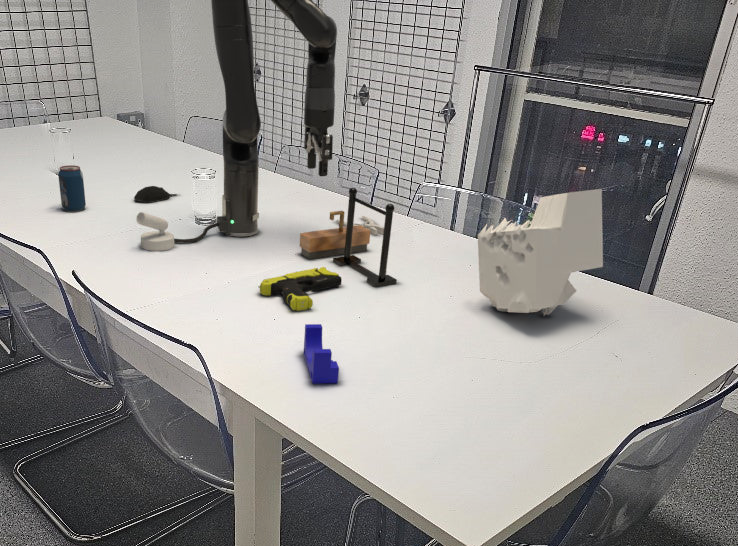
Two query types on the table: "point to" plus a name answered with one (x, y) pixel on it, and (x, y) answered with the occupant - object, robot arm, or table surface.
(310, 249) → the scrub brush
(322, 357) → the blue stepped block
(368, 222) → the pliers
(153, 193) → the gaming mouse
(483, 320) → the table surface
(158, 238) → the white spotlight lamp
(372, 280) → the black hurdle stand
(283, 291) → the stun gun
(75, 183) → the soda can
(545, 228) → the jagged cream rock lump
